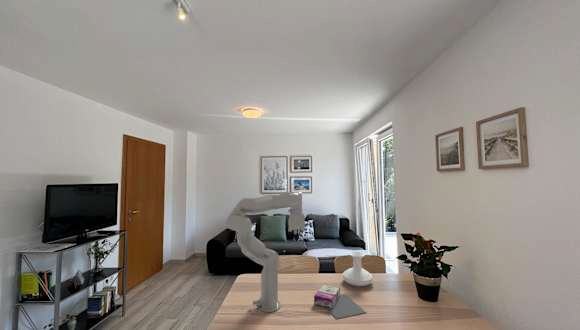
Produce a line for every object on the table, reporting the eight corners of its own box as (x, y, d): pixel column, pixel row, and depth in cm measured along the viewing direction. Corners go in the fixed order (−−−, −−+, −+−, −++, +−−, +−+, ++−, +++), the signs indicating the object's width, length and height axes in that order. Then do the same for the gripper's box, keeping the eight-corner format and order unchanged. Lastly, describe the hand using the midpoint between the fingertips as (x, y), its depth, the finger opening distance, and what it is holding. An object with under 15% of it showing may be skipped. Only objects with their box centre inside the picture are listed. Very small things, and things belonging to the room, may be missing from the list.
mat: (336, 319, 126) (336, 318, 126) (318, 298, 146) (318, 298, 146) (366, 313, 131) (366, 312, 131) (344, 294, 152) (344, 293, 152)
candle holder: (340, 276, 179) (340, 249, 180) (368, 276, 178) (367, 250, 179) (345, 289, 159) (345, 259, 160) (376, 289, 158) (376, 259, 159)
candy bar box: (332, 309, 134) (340, 295, 149) (332, 300, 135) (340, 287, 149) (313, 304, 139) (323, 292, 154) (313, 295, 140) (323, 284, 154)
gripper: (286, 212, 150) (287, 242, 150) (309, 211, 155) (309, 240, 154) (283, 211, 157) (283, 239, 157) (304, 209, 162) (305, 237, 161)
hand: (296, 240), depth 155 cm, fingers closed
